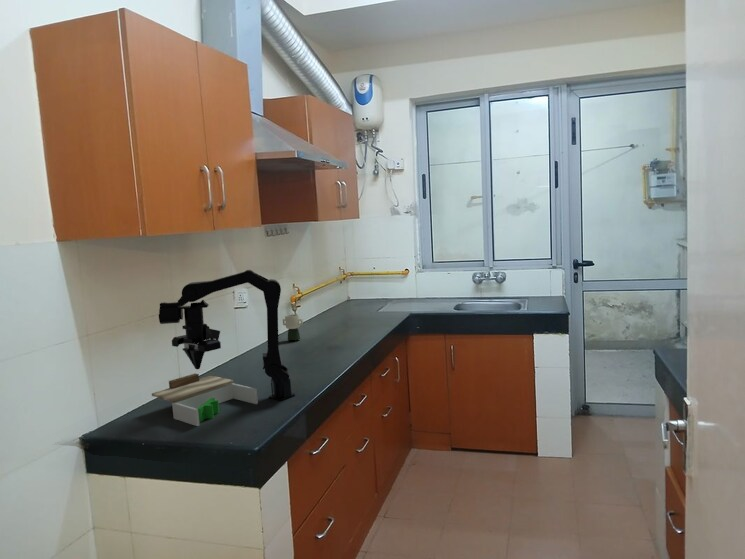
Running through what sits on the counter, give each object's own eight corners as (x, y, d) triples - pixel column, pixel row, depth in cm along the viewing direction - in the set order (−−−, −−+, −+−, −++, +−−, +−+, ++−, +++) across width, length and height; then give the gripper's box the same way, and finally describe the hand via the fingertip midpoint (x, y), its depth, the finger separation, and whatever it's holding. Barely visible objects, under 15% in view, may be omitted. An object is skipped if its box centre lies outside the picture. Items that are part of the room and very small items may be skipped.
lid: (233, 382, 182) (233, 373, 181) (173, 402, 164) (172, 392, 164) (211, 377, 190) (210, 368, 189) (151, 395, 172) (150, 386, 172)
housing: (257, 403, 175) (256, 388, 174) (197, 426, 157) (195, 409, 157) (233, 397, 183) (232, 383, 182) (173, 418, 165) (172, 402, 165)
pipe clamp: (209, 422, 161) (207, 408, 160) (198, 422, 161) (196, 408, 161) (223, 409, 171) (221, 397, 171) (212, 410, 172) (211, 397, 171)
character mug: (306, 339, 271) (304, 314, 270) (301, 342, 264) (299, 316, 263) (287, 339, 274) (285, 314, 273) (281, 342, 267) (279, 316, 266)
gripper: (232, 319, 173) (236, 366, 175) (198, 315, 184) (201, 360, 186) (203, 325, 164) (207, 375, 166) (169, 321, 176) (172, 367, 177)
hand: (197, 368), depth 174 cm, fingers closed
